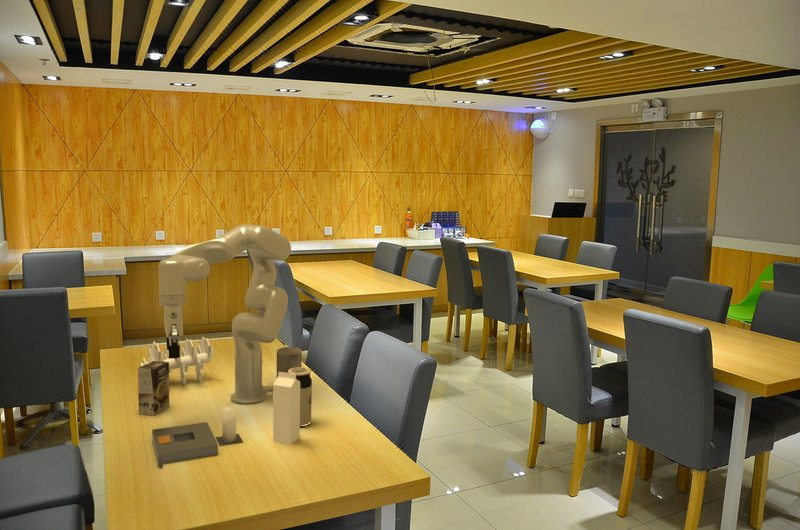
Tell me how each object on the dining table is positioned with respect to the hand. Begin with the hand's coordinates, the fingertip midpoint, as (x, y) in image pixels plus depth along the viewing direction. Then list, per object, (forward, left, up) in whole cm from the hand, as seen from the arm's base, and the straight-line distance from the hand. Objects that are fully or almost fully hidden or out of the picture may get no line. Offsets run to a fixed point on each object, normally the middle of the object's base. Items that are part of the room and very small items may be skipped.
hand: (173, 353), depth 194 cm
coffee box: (+4, -20, -25) cm, 33 cm away
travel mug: (-38, +9, -25) cm, 46 cm away
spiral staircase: (-6, -45, -25) cm, 52 cm away
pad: (-14, +16, -25) cm, 33 cm away
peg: (-14, +16, -24) cm, 32 cm away
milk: (-30, +22, -25) cm, 45 cm away
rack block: (-1, +16, -25) cm, 30 cm away
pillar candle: (-46, -30, -25) cm, 60 cm away
